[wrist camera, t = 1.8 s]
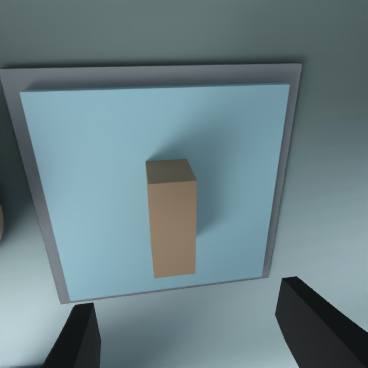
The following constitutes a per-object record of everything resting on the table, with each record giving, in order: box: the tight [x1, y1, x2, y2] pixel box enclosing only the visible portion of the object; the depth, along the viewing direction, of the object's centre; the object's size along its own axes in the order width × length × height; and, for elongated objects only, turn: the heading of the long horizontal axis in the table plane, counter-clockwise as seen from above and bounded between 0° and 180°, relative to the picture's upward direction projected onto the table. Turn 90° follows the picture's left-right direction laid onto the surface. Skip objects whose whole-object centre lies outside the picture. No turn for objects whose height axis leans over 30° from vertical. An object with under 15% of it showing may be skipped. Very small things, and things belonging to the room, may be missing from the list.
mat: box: [0, 63, 302, 304], centre depth 19 cm, size 16×16×1 cm
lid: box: [19, 83, 290, 301], centre depth 17 cm, size 14×14×4 cm
